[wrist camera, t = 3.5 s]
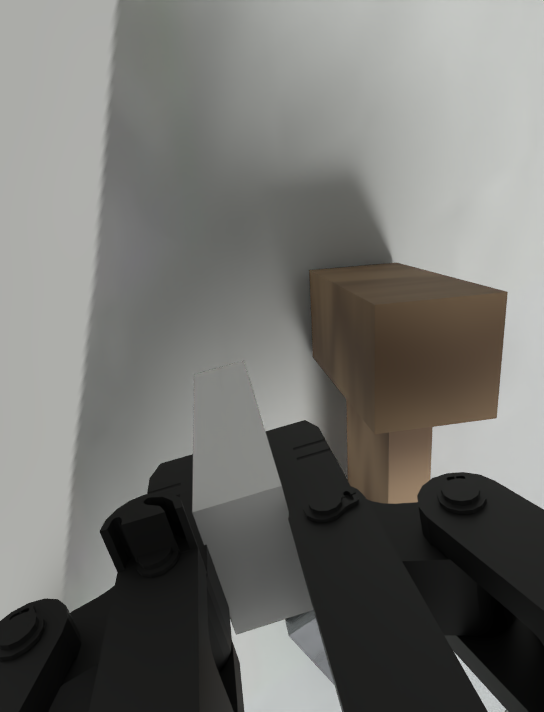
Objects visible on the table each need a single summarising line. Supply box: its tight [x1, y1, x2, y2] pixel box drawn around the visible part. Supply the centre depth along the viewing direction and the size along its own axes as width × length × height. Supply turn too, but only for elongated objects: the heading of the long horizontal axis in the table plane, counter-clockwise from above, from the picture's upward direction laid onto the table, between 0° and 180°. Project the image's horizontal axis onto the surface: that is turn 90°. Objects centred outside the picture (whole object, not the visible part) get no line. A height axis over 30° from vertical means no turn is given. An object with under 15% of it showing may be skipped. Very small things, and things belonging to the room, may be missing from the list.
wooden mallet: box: [309, 263, 507, 504], centre depth 20 cm, size 18×4×8 cm, turn 4°
